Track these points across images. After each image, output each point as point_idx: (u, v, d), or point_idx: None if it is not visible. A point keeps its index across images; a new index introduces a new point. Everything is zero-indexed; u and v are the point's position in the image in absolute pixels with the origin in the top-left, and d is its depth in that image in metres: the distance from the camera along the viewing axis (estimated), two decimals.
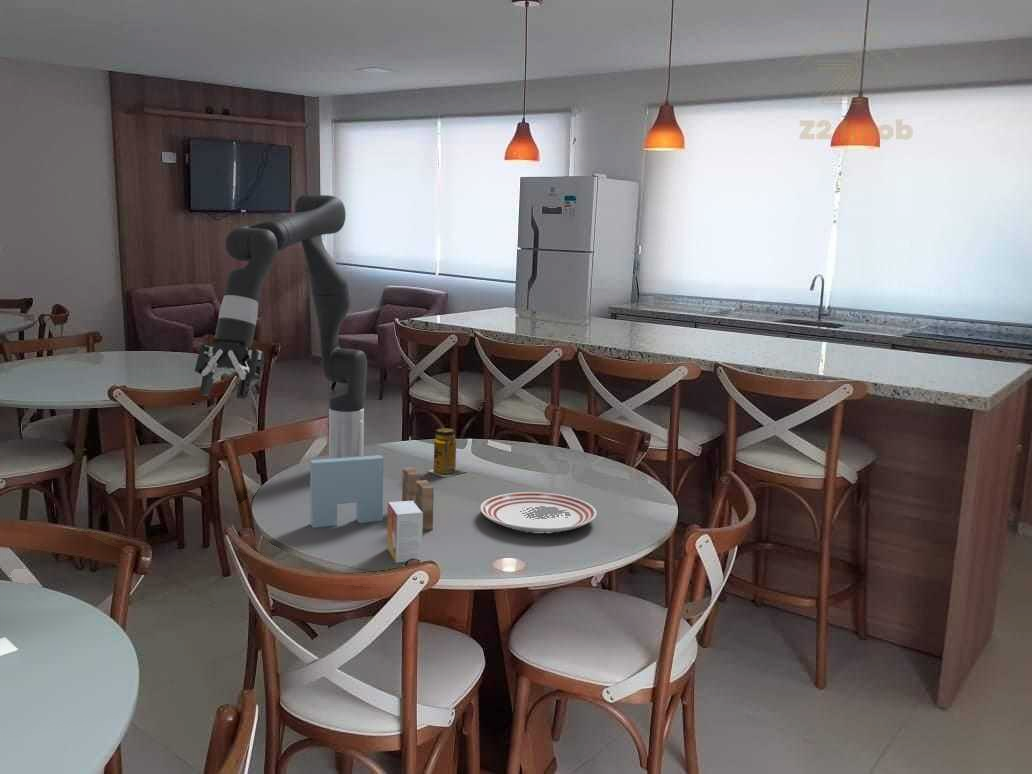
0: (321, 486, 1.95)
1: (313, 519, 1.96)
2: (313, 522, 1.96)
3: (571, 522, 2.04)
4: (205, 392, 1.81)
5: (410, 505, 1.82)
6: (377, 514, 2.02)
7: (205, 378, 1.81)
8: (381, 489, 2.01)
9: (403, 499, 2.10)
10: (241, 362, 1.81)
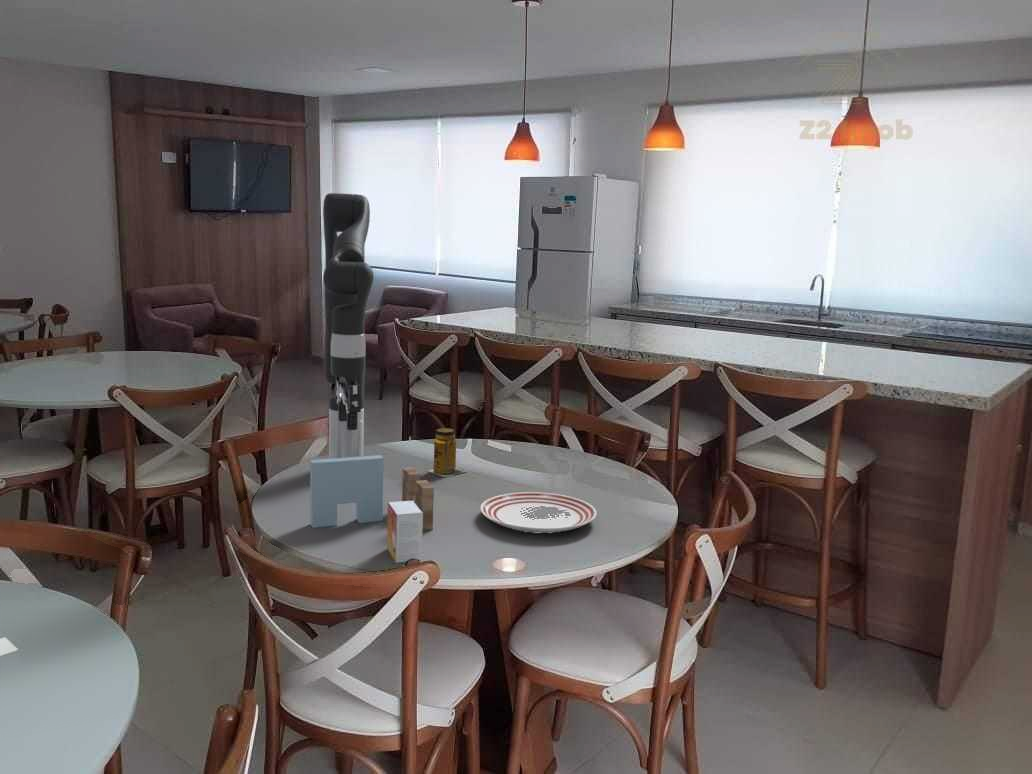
0: (321, 486, 1.95)
1: (313, 519, 1.96)
2: (313, 522, 1.96)
3: (571, 522, 2.04)
4: (340, 419, 1.99)
5: (410, 505, 1.82)
6: (377, 514, 2.02)
7: (338, 406, 1.99)
8: (381, 489, 2.01)
9: (403, 499, 2.10)
10: None
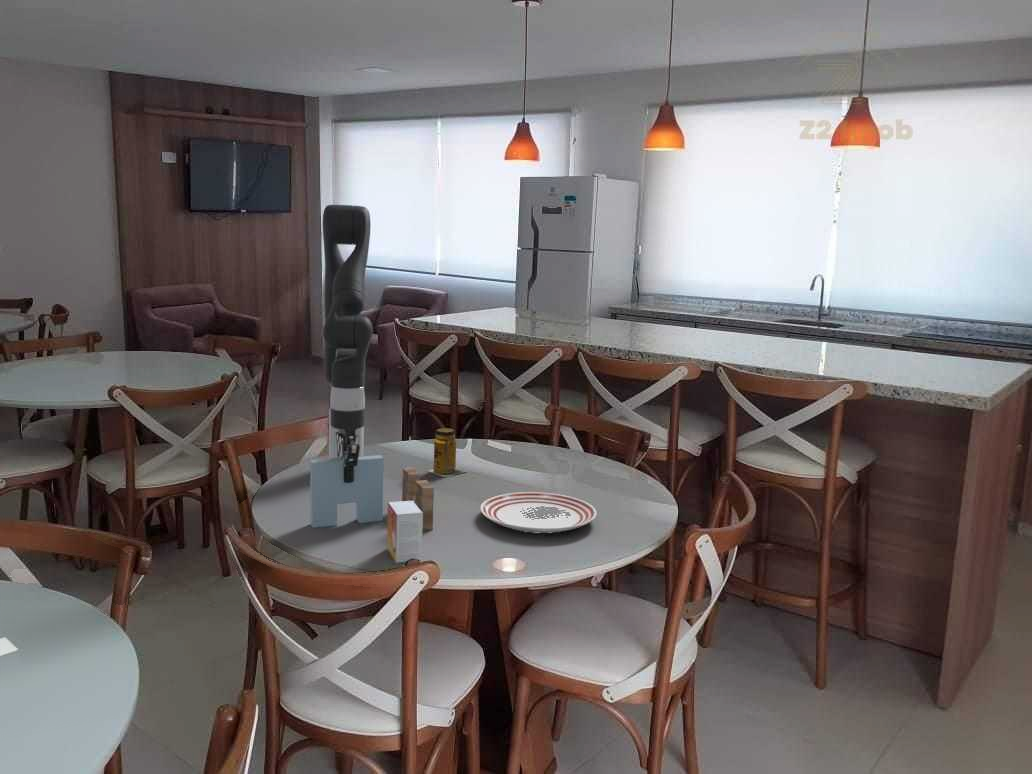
0: (321, 486, 1.95)
1: (313, 519, 1.96)
2: (313, 522, 1.96)
3: (571, 522, 2.04)
4: None
5: (410, 505, 1.82)
6: (377, 514, 2.02)
7: None
8: (381, 489, 2.01)
9: (403, 499, 2.10)
10: None
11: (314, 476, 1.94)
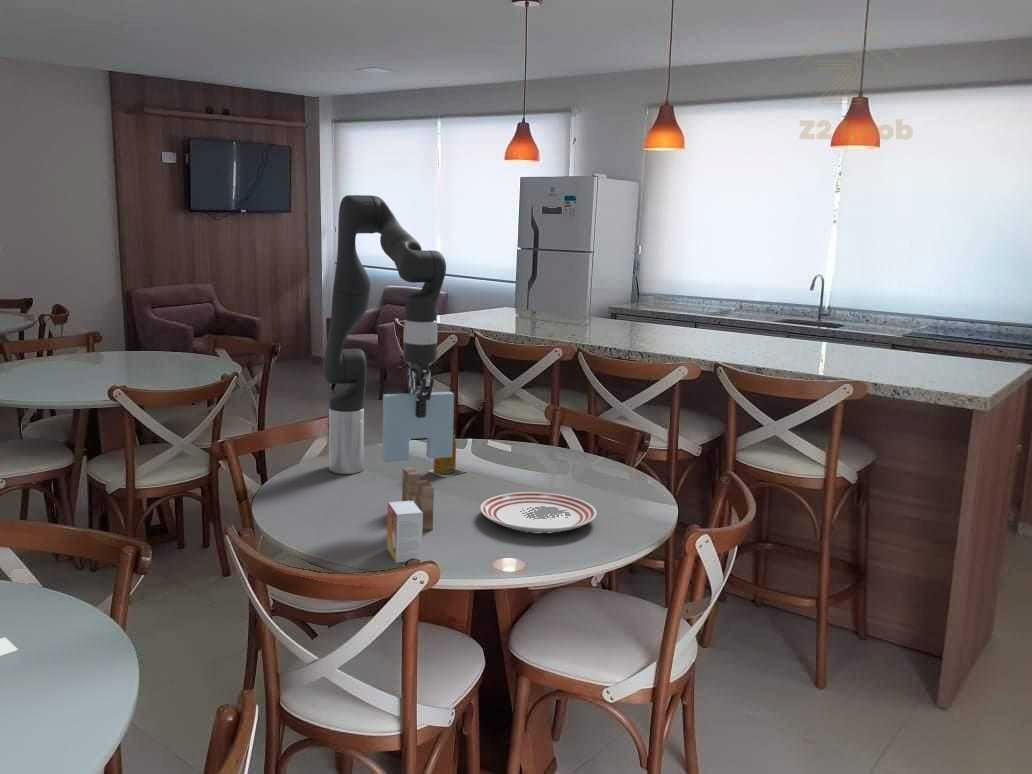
0: (394, 420, 1.97)
1: (386, 453, 1.98)
2: (385, 456, 1.98)
3: (571, 522, 2.04)
4: None
5: (410, 505, 1.82)
6: (447, 450, 2.03)
7: None
8: (451, 425, 2.03)
9: (403, 499, 2.10)
10: None
11: (387, 410, 1.96)
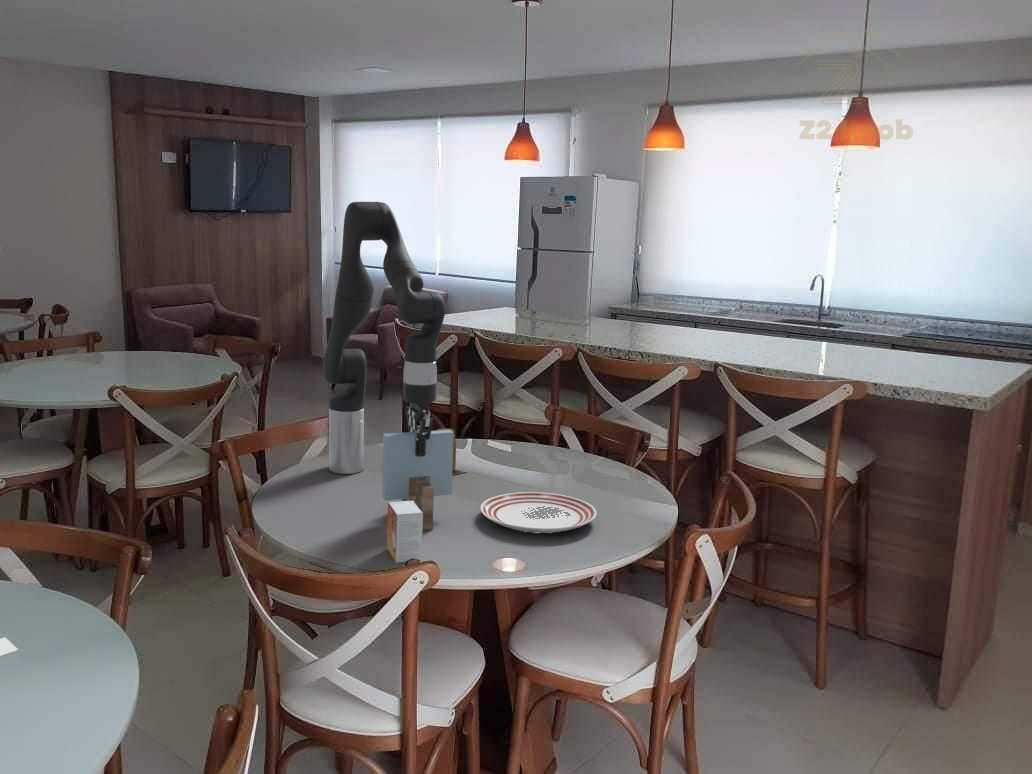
0: (394, 459, 1.99)
1: (386, 492, 1.99)
2: (385, 495, 1.99)
3: (571, 522, 2.04)
4: None
5: (410, 505, 1.82)
6: (446, 488, 2.05)
7: None
8: (451, 463, 2.04)
9: (403, 499, 2.10)
10: None
11: (387, 449, 1.97)
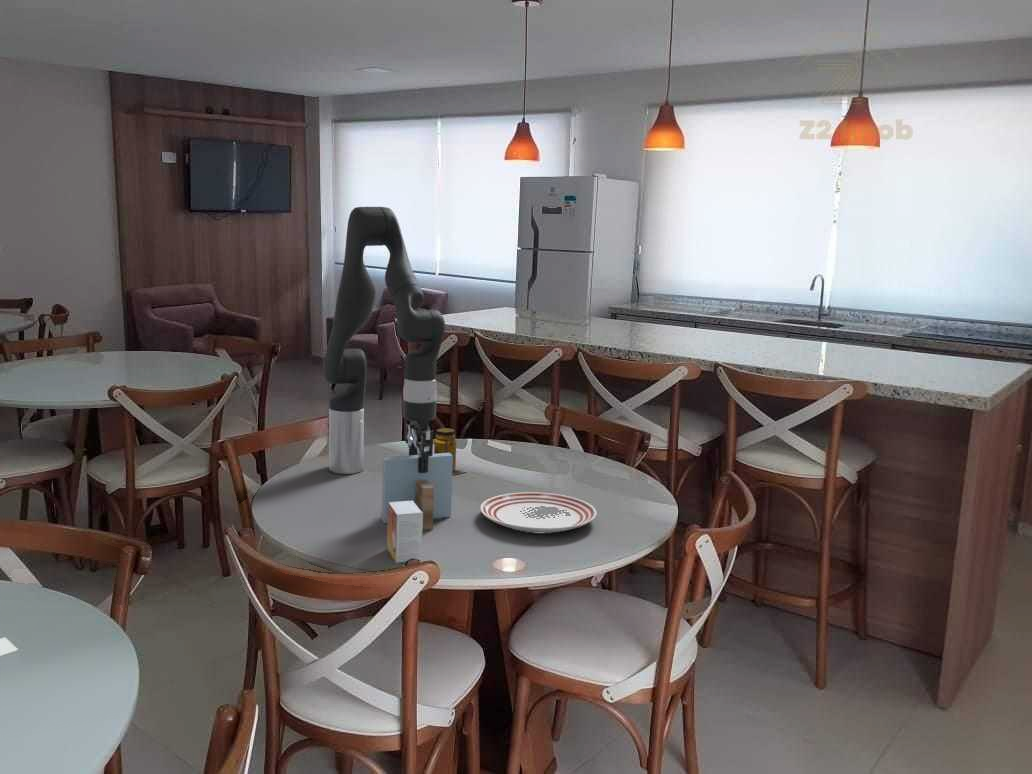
0: (393, 483, 2.00)
1: (385, 515, 2.00)
2: (385, 518, 2.01)
3: (571, 522, 2.04)
4: None
5: (410, 505, 1.82)
6: (446, 510, 2.06)
7: (409, 450, 2.05)
8: (450, 486, 2.06)
9: None
10: None
11: (387, 473, 1.99)
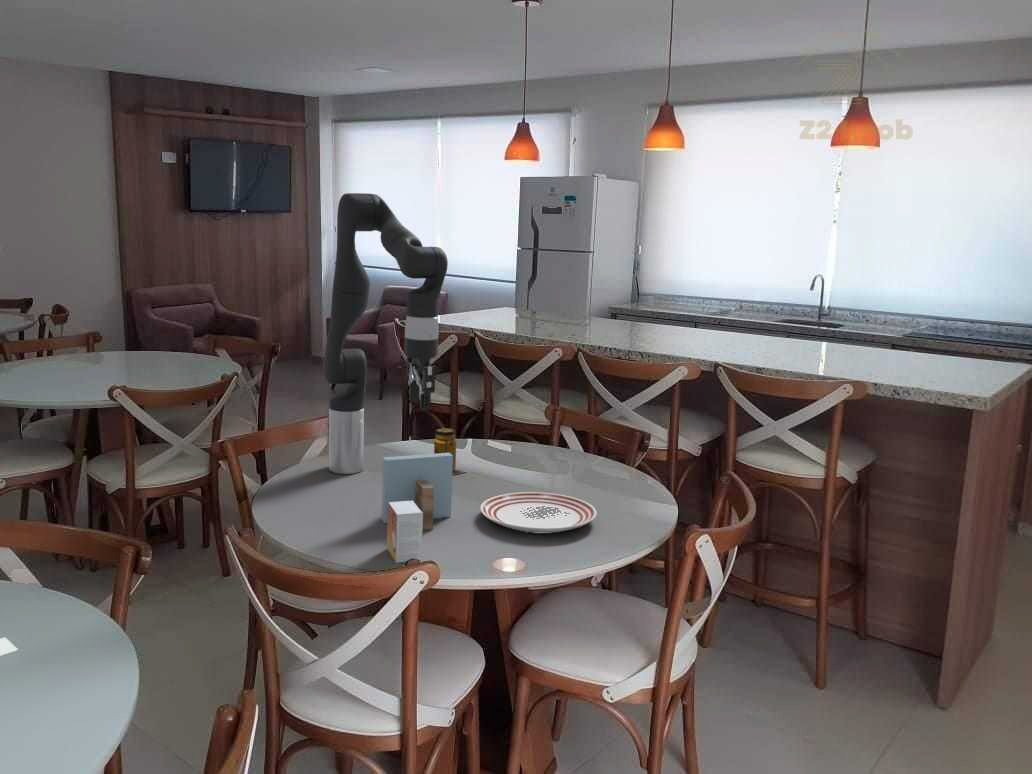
0: (393, 483, 2.00)
1: (385, 515, 2.00)
2: (385, 518, 2.01)
3: (571, 522, 2.04)
4: (411, 399, 2.05)
5: (410, 505, 1.82)
6: (446, 510, 2.06)
7: None
8: (450, 486, 2.06)
9: None
10: None
11: (387, 473, 1.99)
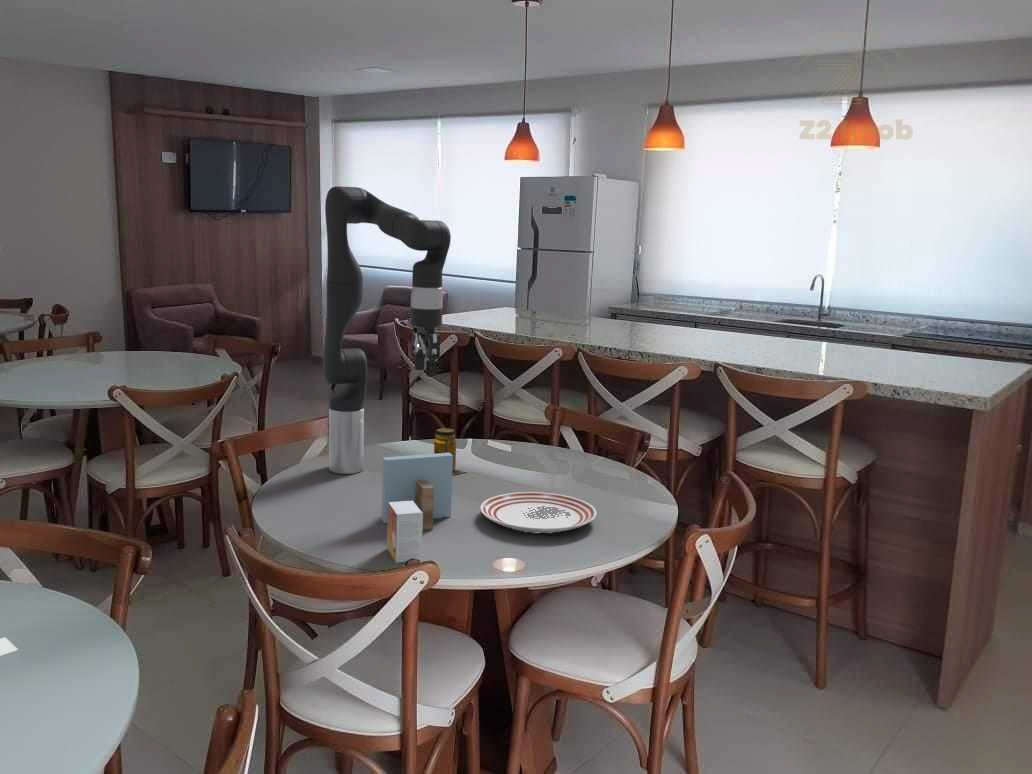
0: (393, 483, 2.00)
1: (385, 515, 2.00)
2: (385, 518, 2.01)
3: (571, 522, 2.04)
4: (417, 368, 2.15)
5: (410, 505, 1.82)
6: (446, 510, 2.06)
7: (415, 356, 2.14)
8: (450, 486, 2.06)
9: None
10: None
11: (387, 473, 1.99)
